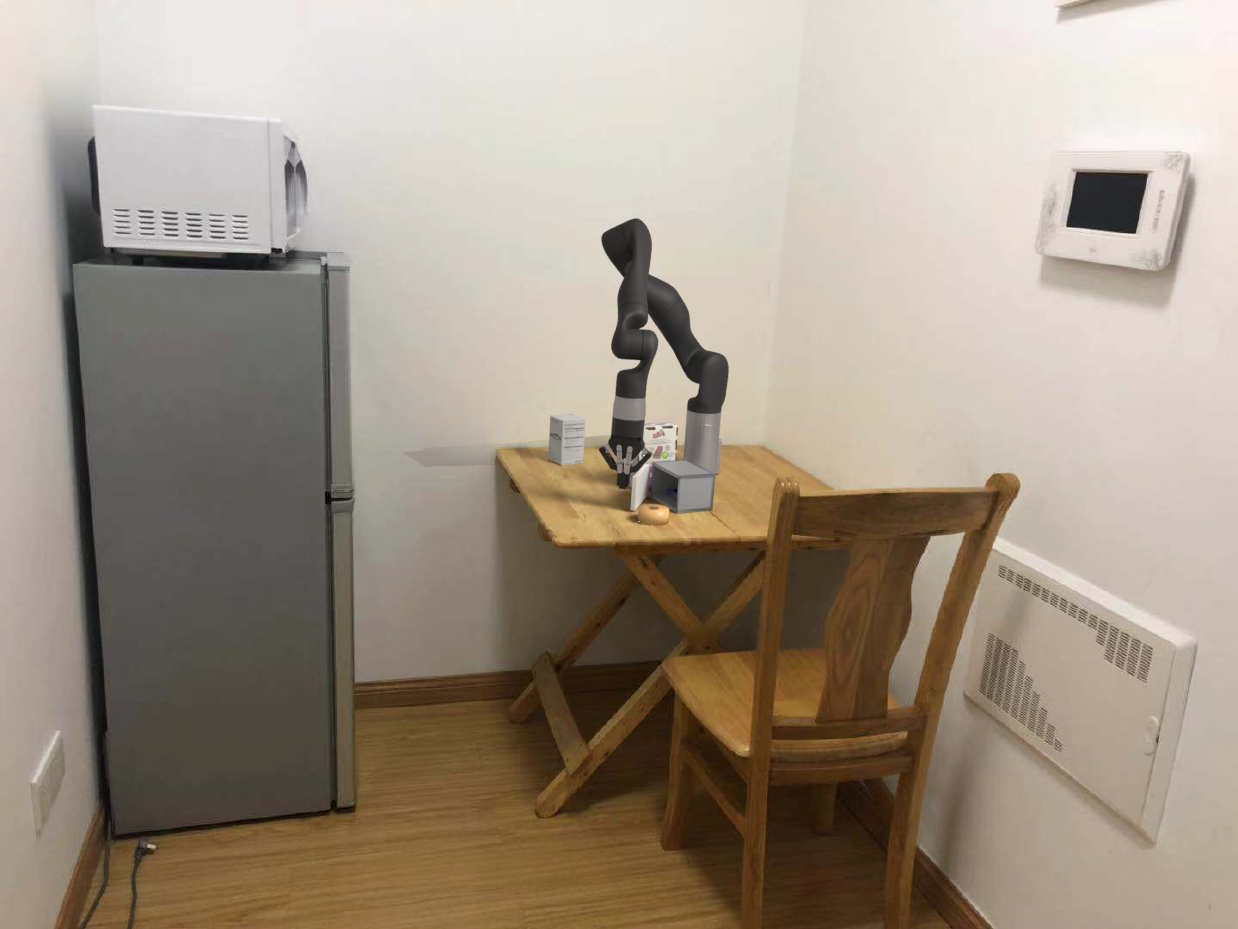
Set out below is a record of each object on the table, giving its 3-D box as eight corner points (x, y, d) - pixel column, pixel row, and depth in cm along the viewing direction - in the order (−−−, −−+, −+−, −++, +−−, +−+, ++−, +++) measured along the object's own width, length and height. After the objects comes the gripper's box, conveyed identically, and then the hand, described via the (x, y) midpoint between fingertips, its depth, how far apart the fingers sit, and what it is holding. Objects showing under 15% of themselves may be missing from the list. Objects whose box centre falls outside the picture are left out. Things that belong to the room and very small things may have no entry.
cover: (643, 495, 245) (645, 462, 243) (648, 496, 245) (651, 463, 243) (629, 512, 232) (631, 476, 230) (635, 512, 231) (637, 477, 229)
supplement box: (547, 459, 276) (549, 414, 273) (570, 457, 280) (572, 413, 277) (560, 465, 270) (562, 420, 267) (584, 463, 274) (586, 418, 271)
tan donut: (660, 515, 230) (661, 502, 230) (673, 524, 224) (674, 511, 224) (632, 517, 228) (633, 504, 227) (645, 526, 221) (646, 513, 221)
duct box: (683, 494, 249) (686, 459, 247) (712, 510, 237) (715, 473, 234) (650, 497, 245) (652, 461, 242) (677, 513, 233) (680, 476, 230)
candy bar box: (665, 483, 258) (669, 421, 254) (675, 488, 254) (679, 425, 250) (627, 486, 253) (631, 423, 249) (636, 491, 249) (640, 427, 245)
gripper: (597, 415, 227) (591, 488, 231) (653, 421, 224) (647, 495, 228) (604, 409, 234) (599, 481, 238) (659, 416, 231) (653, 488, 235)
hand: (622, 488), depth 233 cm, fingers closed
